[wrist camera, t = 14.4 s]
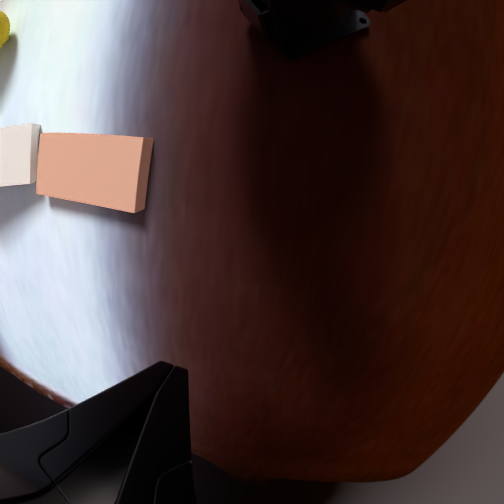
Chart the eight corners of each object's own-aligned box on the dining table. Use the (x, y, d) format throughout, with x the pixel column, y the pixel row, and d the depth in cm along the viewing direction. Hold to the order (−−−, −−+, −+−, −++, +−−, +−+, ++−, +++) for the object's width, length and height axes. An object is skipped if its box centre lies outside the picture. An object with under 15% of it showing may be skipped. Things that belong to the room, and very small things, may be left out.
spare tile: (143, 137, 17) (40, 132, 18) (134, 213, 19) (36, 193, 20) (156, 138, 19) (56, 132, 20) (147, 207, 21) (51, 190, 21)
